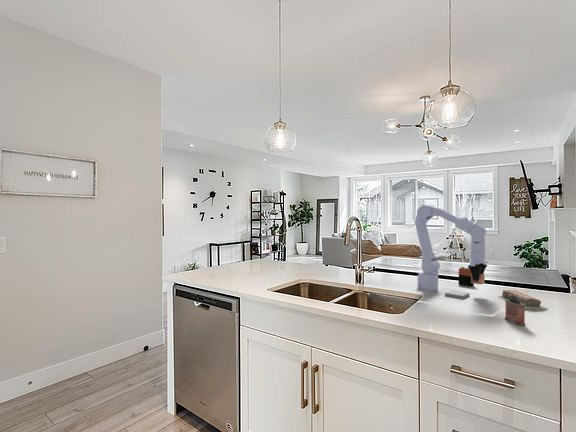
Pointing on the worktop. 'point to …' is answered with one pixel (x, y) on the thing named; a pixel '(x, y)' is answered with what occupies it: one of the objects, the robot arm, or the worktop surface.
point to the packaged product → (524, 300)
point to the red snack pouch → (515, 310)
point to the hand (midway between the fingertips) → (477, 279)
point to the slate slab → (457, 294)
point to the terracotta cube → (481, 279)
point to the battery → (465, 277)
